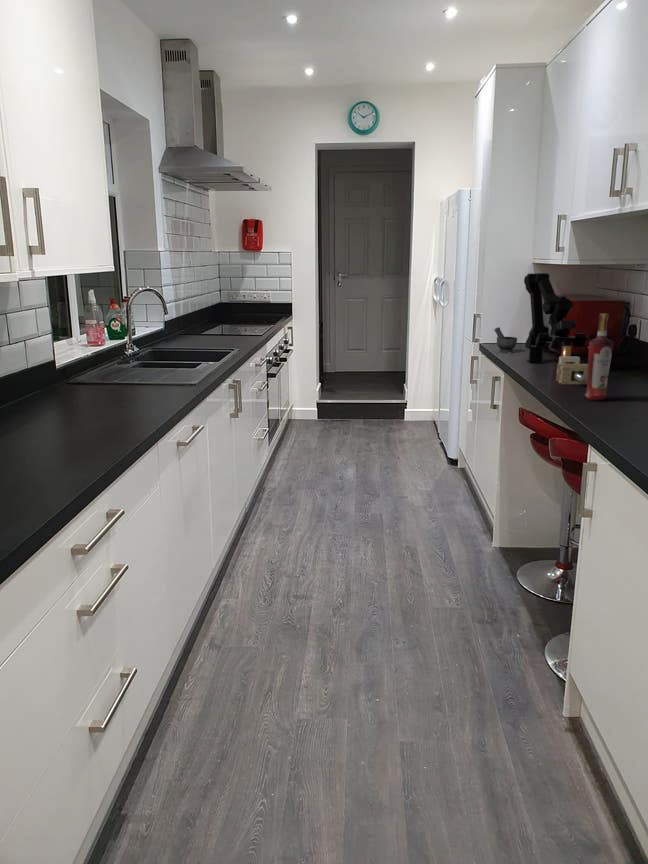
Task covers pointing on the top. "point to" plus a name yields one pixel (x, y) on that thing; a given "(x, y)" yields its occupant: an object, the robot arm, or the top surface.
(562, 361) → the spacer
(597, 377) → the liquor
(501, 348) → the mortar and pestle
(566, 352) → the shaft
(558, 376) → the bearing block
